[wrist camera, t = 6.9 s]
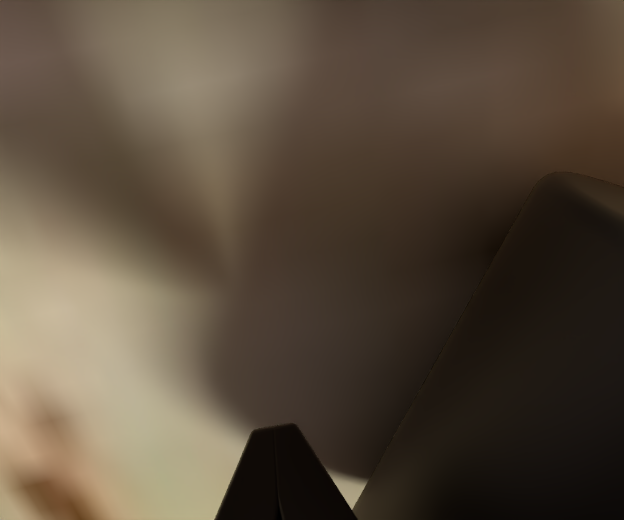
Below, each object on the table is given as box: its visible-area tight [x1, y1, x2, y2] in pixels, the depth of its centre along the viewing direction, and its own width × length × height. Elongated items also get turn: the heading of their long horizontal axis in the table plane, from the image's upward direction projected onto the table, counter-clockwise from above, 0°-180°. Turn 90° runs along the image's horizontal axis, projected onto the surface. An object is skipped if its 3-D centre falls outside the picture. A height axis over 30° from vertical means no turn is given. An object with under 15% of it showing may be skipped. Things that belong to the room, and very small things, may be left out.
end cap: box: [352, 172, 624, 520], centre depth 9 cm, size 10×7×7 cm
